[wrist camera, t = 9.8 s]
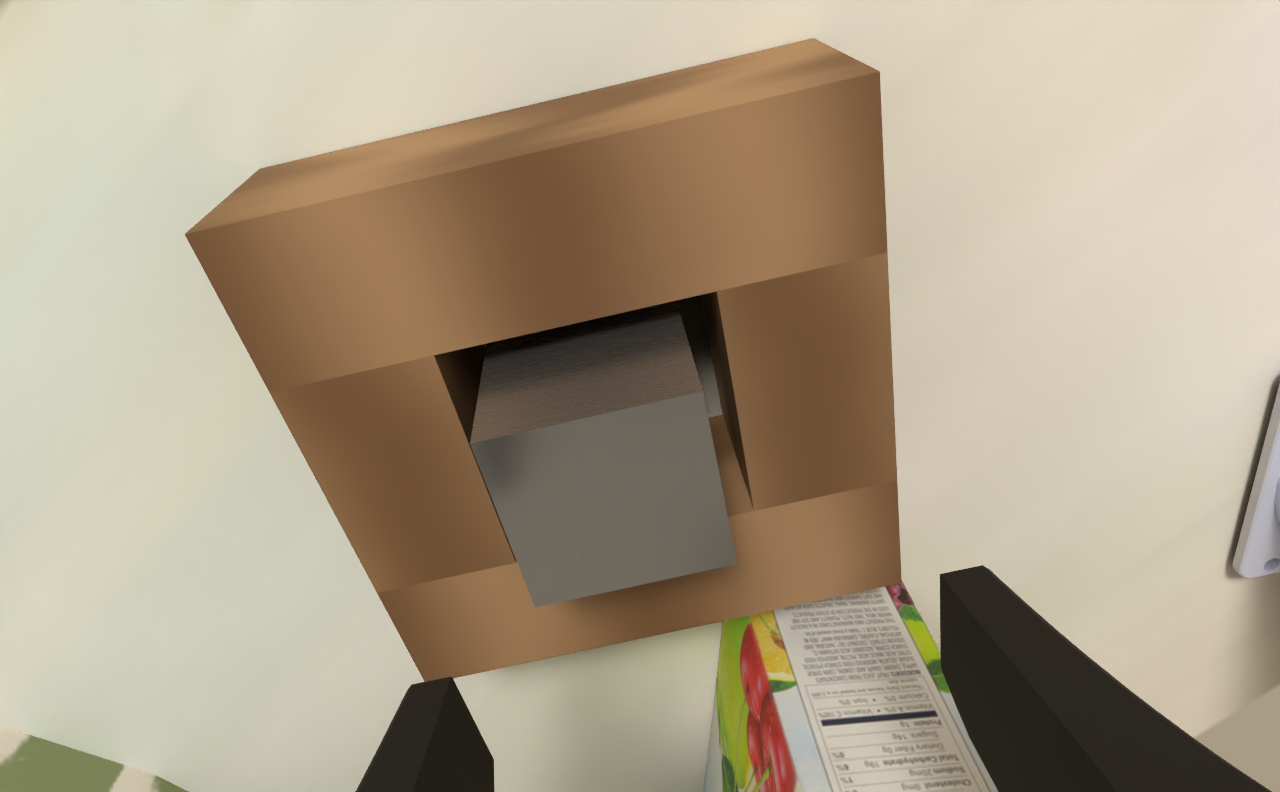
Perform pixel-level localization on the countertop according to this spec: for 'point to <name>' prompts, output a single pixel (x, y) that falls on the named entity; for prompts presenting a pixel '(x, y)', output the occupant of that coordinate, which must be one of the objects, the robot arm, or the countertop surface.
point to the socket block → (576, 292)
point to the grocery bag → (66, 769)
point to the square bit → (601, 455)
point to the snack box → (837, 703)
